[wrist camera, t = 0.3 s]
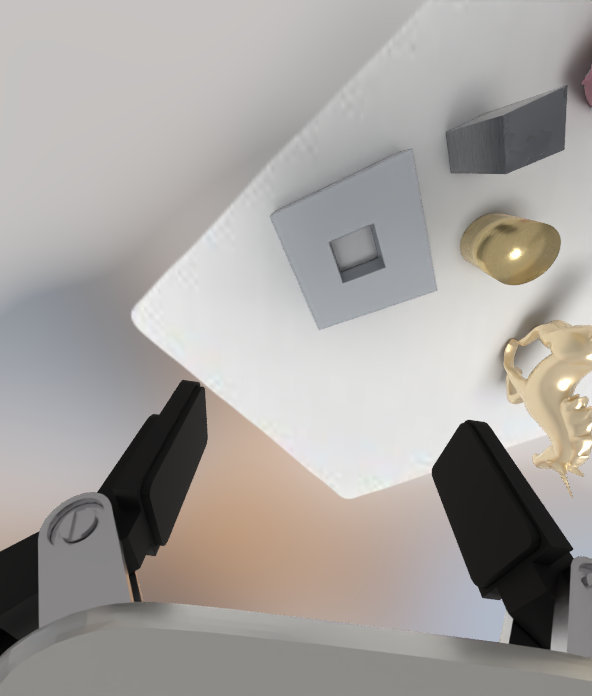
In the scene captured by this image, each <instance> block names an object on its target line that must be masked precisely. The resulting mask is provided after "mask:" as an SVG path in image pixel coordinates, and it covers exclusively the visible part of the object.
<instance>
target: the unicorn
mask: <svg viewBox="0 0 592 696" xmlns="http://www.w3.org/2000/svg"><path fill="white" fill-rule="evenodd" d="M538 338H540V341H541V342H542V344H543V345H544V346H545V347H547V348H549V349H550V350H551V353H552V354H550V355H549V356H547V357H546V358H545V359H543V360H542V361H541V362H540V363H539V364H538V365H537V366H536V367H535V368H534V369H533V371H532V372H531V373H530V375H529V377H528V379H525V378H523V377H522V375H521V374H522V370H521V369H519V368H517V367H514V357H515V353H516V350H517V348H518V344H519V345H521V346H526V345H528V344H530V343H532V342H533V341H535V340H537V339H538ZM504 369H505V371H506V373H507V376H506V388H507V399H508V401H509V402H510V403H512V404H520V403H522V402H524V405H525V407H526V410H527V411H528V413H529V414H530V416H531V417H532V418H533V419H534V420H535V421H536V422H537V423H538V424H539V426H540V427H541V428H542V429H543V430H544V431H545V432H546V434H547V435H548V437H549V439H550V441H551V443H552V445H551V446H549V447H548V448H547V449H545V451H544V452H543V453H542V454H541V455H539V454H535V455H533V457H532V461H533V463H534V464H535V466H536V467H538V468H545V469H553V470H555V471H556V472H559V473H560V475H561V478H562V479H563V482H565V485H566V487H567V489H568V491H569V493H570V495H571V497H572V498H573V496H572V492H571V490H570V487H569V485H568V484H569V483H568V480H567V477H566V476H565V473H566V474H567V470H568V471H570V472H572V473H574V474H576V475H579V476H582V477H583V476H584V475H583V473H582V472H581V471H580V470H579V469H578V468H577V467H578V466H581V465H582V464H584V463H585V461H586V460H588V456H589V454H590V452H591V449H592V406H589V407H587V404H588V401H589V399H588V397H580V398H579V394H577V395H574V391H575V388H576V386H577V385H578V383H579V382H580V381H581V379H582V378H583V377H584V376H586V375H587V374H588V373H590V372H591V371H592V326H591V325H574V326H572V325H570V324H568V323H566V322H564V321H560V320H555V321H551V322H549V323H546V324H542V325H539V326H536V327H535V328H533V329H532V330H531V331H530V332H529V333H528V334H527V335H526V336H525V337H524V338H522V339H521V340H519V341H517V340H515V339H511V340H510V342H509V343H508V344H507V346H506V348H505V351H504ZM517 392H518V393H517ZM573 395H574V396H573ZM586 407H587V408H586Z"/></svg>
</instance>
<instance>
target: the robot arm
mask: <svg viewBox="0 0 592 696" xmlns="http://www.w3.org/2000/svg"><path fill="white" fill-rule="evenodd" d="M207 437H208V435H207V418H206V401H205V388H204V387H200V383H199V382H193V381H186V380H182V381H181V382H180V384H179V385H178V387H177V388H176V390H175V391H174V393H173V394H172V396H171V398H170V399H169V401H168V402H167V404H166V406H165V407H164V408H163V410H162V412H161V413H160V415H157V414H153V415H151V416H150V417H149V418H148V419H147V420H146V422H145V423H144V425H143V426H142V428H141V429H140V430H139V432H138V433H137V435H136V437H135V438H134V439H133V441H132V442H131V444H130V445H129V447H128V448H127V450H126V451H125V452H124V454H123V455H122V457H121V458H120V460H119V461H118V463H117V464H116V466H115V467H114V469H113V470H112V472H111V473H110V474H109V476H108V477H107V479H106V480H105V482H104V483H103V485H102V486H101V488H100V489H99V491H98V492H97V493H96V492H90V493H83V494H80V495H77V496H74V497H72V498H70V499H68V500H66V501H65V502H63V503H62V504H60V505H59V506H58V507H57V508H56V509H54V510H53V511H52V512H51V514H50V515H49V516H48V517H47V518H46V519H45V521H44V523H43V525H42V527H41V528H40V531H39V532H37V533H35V534H33V535H31V536H30V537H27V538H26V539H24V540H22V541H20V542H18V543H16V544H14V545H12V546H10V547H8V548H6V549H4V550H3V551H0V696H592V559H590V558H587V557H579V556H578V557H576V558H573V557H572V555H571V554H570V551H572V550H573V548H572V546H571V545H570V543H569V542H568V540H567V539H566V537H565V536H564V534H563V533H562V532H561V530H560V529H559V527H558V526H557V524H556V523H555V521H554V520H553V518H552V517H551V515H550V514H549V512H548V511H547V510H546V508H545V507H544V505H543V504H542V502H541V501H540V499H539V498H538V496H537V495H536V493H535V492H534V491H533V489H532V488H531V486H530V485H529V483H528V482H527V481H526V479H525V478H524V476H523V475H522V473H521V471H520V470H519V469H518V467H517V466H516V464H515V463H514V461H513V460H512V459H511V457H510V455H509V454H508V453H507V451H506V450H505V448H504V447H503V445H502V444H501V442H500V441H499V439H498V438H497V436H496V435H495V433H494V432H493V430H492V429H491V428H490V426H489V425H488V424H487V423H485V422H480V421H473V420H467V421H465V422H464V423H462V424H460V425H459V427H458V429H457V430H456V432H455V433H454V435H453V436H452V438H451V439H450V441H449V443H448V444H447V446H446V447H445V449H444V450H443V452H442V454H441V455H440V457H439V458H438V460H437V461H436V463H435V464H434V466H433V468H432V477H433V480H434V482H435V485H436V488H437V490H438V493H439V496H440V498H441V501H442V504H443V506H444V509H445V511H446V514H447V517H448V519H449V522H450V525H451V527H452V530H453V532H454V535H455V537H456V540H457V543H458V545H459V548H460V551H461V553H462V556H463V559H464V561H465V564H466V566H467V569H468V571H469V574H470V577H471V579H472V581H473V582H474V584H475V585H476V586H478V588H479V591H480V593H481V596H482V598H487V599H495V600H500V599H502V600H503V603H504V605H505V607H506V612H505V617H504V622H503V626H502V631H501V636H500V641H499V642H491V641H483V640H475V639H468V638H460V637H452V636H445V635H437V634H430V633H422V632H413V631H406V630H398V629H390V628H382V627H374V626H366V625H358V624H350V623H342V622H334V621H326V620H318V619H310V618H302V617H293V616H285V615H276V614H268V613H259V612H252V611H243V610H235V609H226V608H216V607H205V606H195V605H186V604H176V603H156V602H144V601H143V597H142V593H141V588H140V584H139V580H138V575H137V571H136V570H138V569H139V568H140V567H141V565H142V562H143V560H144V558H145V556H146V555H151V556H156V554H157V551H158V549H159V547H160V546H164V545H166V543H167V541H168V539H169V537H170V534H171V532H172V529H173V527H174V524H175V522H176V519H177V516H178V514H179V512H180V509H181V507H182V504H183V502H184V499H185V497H186V494H187V492H188V489H189V487H190V484H191V482H192V479H193V477H194V474H195V472H196V469H197V467H198V464H199V462H200V459H201V457H202V454H203V452H204V449H205V447H206V444H207Z"/></svg>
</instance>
